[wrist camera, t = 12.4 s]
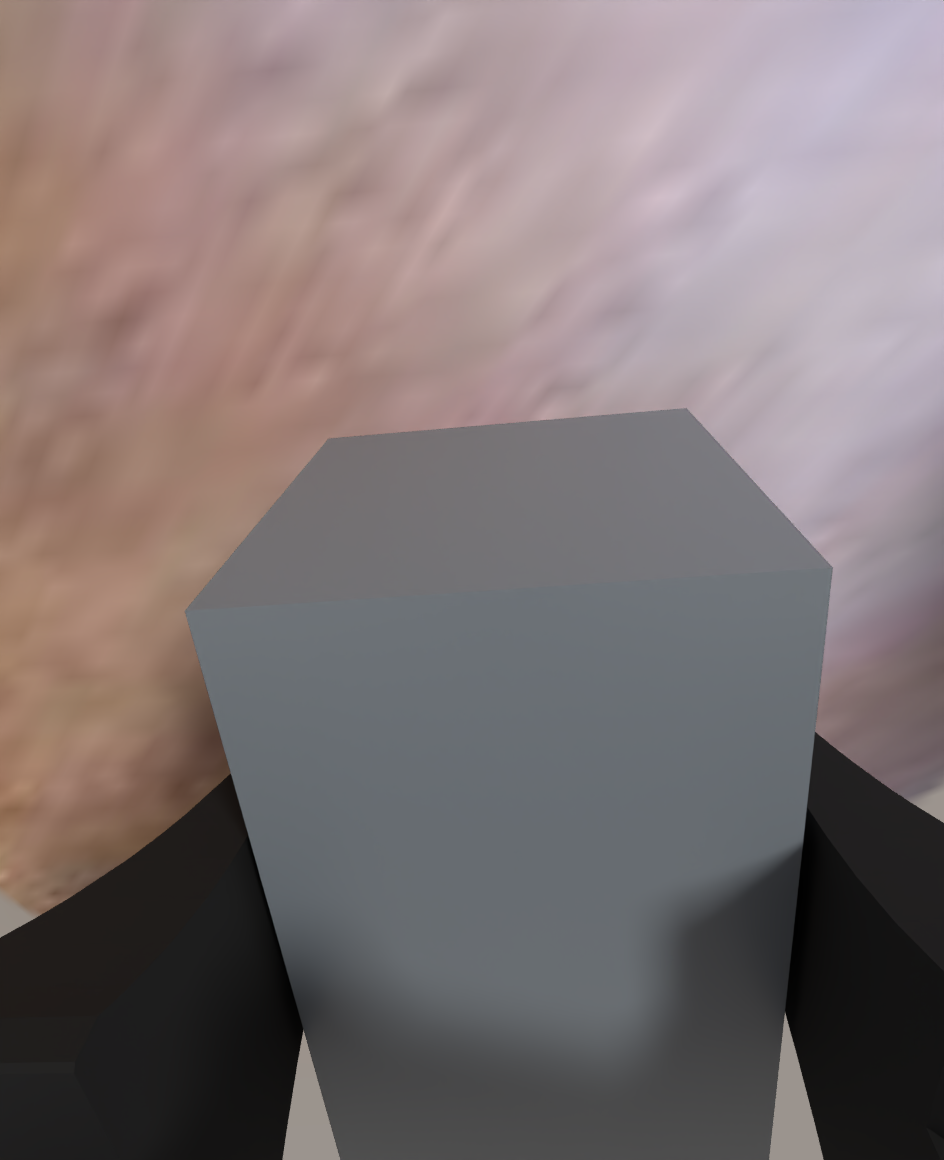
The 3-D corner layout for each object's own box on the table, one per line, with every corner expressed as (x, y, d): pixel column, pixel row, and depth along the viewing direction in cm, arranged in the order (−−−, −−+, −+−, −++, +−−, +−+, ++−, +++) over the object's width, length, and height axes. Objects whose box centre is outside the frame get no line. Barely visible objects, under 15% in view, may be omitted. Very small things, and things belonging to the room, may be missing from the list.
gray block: (686, 408, 13) (831, 567, 7) (678, 830, 16) (768, 1161, 11) (328, 438, 13) (185, 610, 7) (399, 841, 17) (342, 1164, 11)
